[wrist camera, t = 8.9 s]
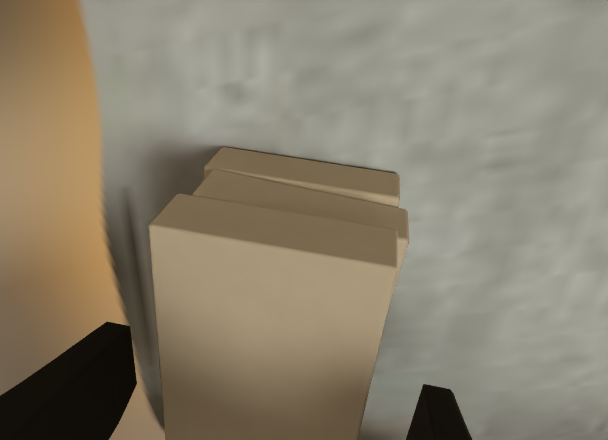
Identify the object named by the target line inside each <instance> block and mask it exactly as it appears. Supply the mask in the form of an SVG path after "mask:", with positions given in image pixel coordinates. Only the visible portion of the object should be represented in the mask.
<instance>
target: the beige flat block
mask: <svg viewBox="0 0 608 440" xmlns="http://www.w3.org/2000/svg"><path fill="white" fill-rule="evenodd" d="M212 170H220V171H224V172H229V173H234V174H239V175H243V176H248V177H253V178H258V179H263V180H267V181H272V182H277V183H282V184H286V185H291V186H296V187H301V188H305V189H310V190H315V191H320V192H325V193H329V194H334V195H339V196H344V197H348V198H353V199H358V200H363V201H368V202H372V203H377V204H382V205H387V206H391V207H396V208H398V205H399V201H400V177H399V175H398V174H395V173H388V172H382V171H375V170H369V169H362V168H356V167H349V166H343V165H337V164H330V163H324V162H317V161H311V160H304V159H298V158H291V157H285V156H278V155H272V154H265V153H259V152H253V151H246V150H240V149H233V148H227V147H222V148H221V149H220V150H219V151H218V152H217V153H216V154H215V156H214V157H213V158H212V159H211V160H210V161H209V162H208V163H207V164H206V166H205V167H204V180H205V178H206V177H207V176H208V175H209V174H210V172H211V171H212Z"/></svg>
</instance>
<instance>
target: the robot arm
mask: <svg viewBox="0 0 608 440" xmlns="http://www.w3.org/2000/svg"><path fill="white" fill-rule="evenodd" d="M136 384H137V381H136V373H135V364H134V355H133V347H132V338H131V330H130V326H126V325H121V324H116V323H111V322H106V323H104V324H103V325H102V326H100V327H99V328H97V329H96V330H94V331H93V332H92V333H90V334H89V335H87V336H86V337H85V338H83V339H82V340H81V341H79V342H78V343H76V344H75V345H73V346H72V347H71V348H69V349H68V350H67V351H65V352H64V353H62V354H61V355H60V356H58V357H57V358H56V359H54V360H53V361H51V362H50V363H48V364H47V365H46V366H44V367H43V368H41V369H40V370H38V371H37V372H35V373H34V374H32V375H31V376H30V377H28V378H27V379H25V380H24V381H22V382H21V383H19V384H18V385H16V386H15V387H13V388H12V389H10V390H9V391H7V392H6V393H4V394H2V395H1V396H0V440H109V438H110V437H111V435H112V433H113V432H114V430H115V428H116V427H117V425H118V423H119V421H120V419H121V417H122V415H123V413H124V411H125V409H126V407H127V404H128V402H129V400H130V398H131V396H132V393H133V391H134V389H135V386H136ZM406 440H472V438H471V436H470V433H469V431H468V429H467V426H466V424H465V422H464V419H463V417H462V414H461V412H460V409H459V407H458V404H457V402H456V399H455V396H454V394H453V392H452V391H451V390H450V389H446V388H441V387H436V386H431V385H426V384H423V387H422V390H421V394H420V397H419V400H418V403H417V406H416V409H415V413H414V416H413V419H412V422H411V425H410V428H409V431H408V435H407V438H406Z"/></svg>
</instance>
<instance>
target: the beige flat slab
mask: <svg viewBox="0 0 608 440" xmlns="http://www.w3.org/2000/svg"><path fill="white" fill-rule="evenodd" d="M149 238H150V251H151V263H152V276H153V288H154V301H155V313H156V326H157V338H158V351H159V364H160V376H161V389H162V401H163V414H164V426H165V438H166V440H358V435H359V431H360V427H361V423H362V418H363V414H364V410H365V406H366V401H367V397H368V393H369V389H370V384H371V380H372V376H373V372H374V368H375V363H376V359H377V355H378V351H379V346H380V342H381V338H382V334H383V329H384V325H385V321H386V317H387V312H388V308H389V304H390V300H391V296H392V291H393V287H394V283H395V279H396V274H397V270H398V233H397V230H395V229H389V228H383V227H377V226H371V225H365V224H359V223H353V222H347V221H341V220H335V219H329V218H323V217H317V216H311V215H304V214H298V213H292V212H286V211H280V210H274V209H268V208H262V207H256V206H250V205H244V204H238V203H232V202H226V201H220V200H214V199H208V198H202V197H196V196H190V195H184V194H177V195H176V196H175V197H174V198H173V199H172V200H171V201H170V202H169V203H168V205H167V206H166V207H165V208H164V209H163V210H162V211H161V212H160V213H159V214H158V216H157V217H156V218H155V219H154V220H153V221H152V222H151V223H150V225H149Z"/></svg>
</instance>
